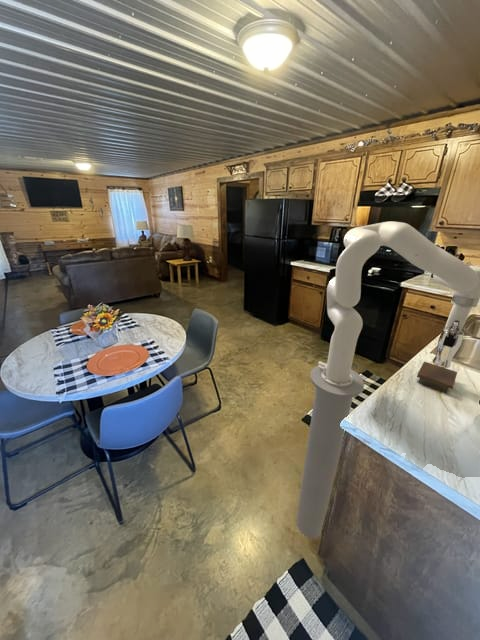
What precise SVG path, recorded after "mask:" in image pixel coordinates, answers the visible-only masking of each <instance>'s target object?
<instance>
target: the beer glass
mask: <svg viewBox="0 0 480 640" xmlns="http://www.w3.org/2000/svg"><path fill="white" fill-rule="evenodd" d="M451 329H452V328H451ZM456 330H457V329H456ZM448 331H449V329H446V328H445V327H444V328H443V329H442V331H441V333H440V335H439V338H438V340H437V346H436V347H437V348H436V353H435V356H434V357H433V359H432V364H434V365H437V366H439V367H442V368H446V369H449V368H451V366H452V360H453V358H454V356H456V355H455V354H456V353H457V352H458V350H459V349H460V347H461V345H462V342H463V338H464V335H465V333H464V331H462V330H461V331H460V332H458V333H457V335H456V340H455V343H454V346H453V347H448V346H444V345H443V342H444V340H445V337H446V336H447V334H448ZM450 332H451V331H450ZM455 333H456V332H455Z"/></svg>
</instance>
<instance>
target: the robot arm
mask: <svg viewBox="0 0 480 640" xmlns="http://www.w3.org/2000/svg"><path fill="white" fill-rule="evenodd" d="M343 245H344V247H345V249H344V250H342V252H341V253H340V255H339V256H338V258H337V261H336V264H335V265H336V266H335V276H333V277H332V278H331V279H330V281H329V282H328V284H327V287H326V311H327V316H328V318H329V320H330V321H331V322H332V324H333V326H334V330H333V332H332V335H331V338H330V343H329V347H328V348H329V349H328V356H327V362H323V361H321V360H319V361H318V362H317V366H318V365H319V366H318V368H319V369H322V370H323V371H322V374H321V376H322V379H323V380H324V381H325V382H326V383H328V384H330V385H332V386H336V387H347V386H350V385H351V384H352V382H353V378H352V376H351V375H350V372H351V370H352V366H353V363H354V357H355V352H356V347H357V343H358V339H359V336H360V334H361V331H362V329H363V326H364V325H363V324H364V321H363V318H362V316H361V315H360V313H359V312H358V311H357V310H356V309H355V308H354V307H355V306H356V305H357V304H358V303H359V302H360V300H361V293H362V287H361V286H362V271H363V267H364V265H365V263H366V262H367V261H368V260H369V259H370V258H371V257H372V256H373V255H375V254H376V253H377V252H378V251H379V249H380V247H387V248H390V249H392V250H393V251H394V252H395V253H397V254H398V255H400V256H401V257H402V258H404V259H405V260H406V261H407V262H409V263H410V264H412V265H413V266H414V267H416V268H418V269H420V270H422V271H425V272H427V273H430V274H432V277H433V280H434V281H435V282H436V283H437V284H439V285H440V286H442V287H443V286H444V287H446V288H448V289H450V290H451V289H452V290H454V292H453V295H452V297H451V300H450V303H451V304H452V307H451V309H450V312H449V314H448V318H447V320H446V323H445V326H444V328H446V329H449V331H448V334H447V336H446V337H445V340H444V342H443V345H444V346H448V347H453V346H454V343H455V340H456V335H457V333H458V332H460V331H462V330H463V328H464V326H465V324H466V322H467V319H468V317H469V315H470V312H471V310H472V308H477V306H478V304H479V301H480V265H468V264H467V263H466V262H464V261H463V260H461V259H459V258H458V257H456V256H454V255H453V254H451V253H449V252H448V251H446V250H445V249H443V248H442V247H440V246H438V245H437V244H435V243H434V242H433V241H431V240H430V239H428V238H427V237H426V236H425V235H424V234H422V233H421V232H420V231H419V230H417V229H416V228H415V227H413V226H412V225H410V224H409V223H406V222H403V221H402V222H401V221H392V220H391V221H382V222H378V223H373V224H367V225H362V226H356V227H353V228H351V229H349V230H348V231H347V232H346V233H345V234H344V238H343ZM451 328H452V329H451ZM456 329H457V330H456ZM450 331H451V332H450ZM455 332H456V333H455Z"/></svg>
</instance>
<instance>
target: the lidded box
mask: <svg viewBox="0 0 480 640" xmlns="http://www.w3.org/2000/svg"><path fill="white" fill-rule="evenodd" d="M457 374H458V372H457V371H456V370H453V369H449V368H442V367H439V366H437V365H435V364H434V363H430V362H427V361H423V363H422V365H421V366H420V369H419V370H418V373H417V375H416V377H417V378H418V381H417V383H418V384H421V385H424V386H426V387H428V388H431V389H434V390H437V391H440V392H442V393H444V394H448V392H449V389H450V390H453V388H454V385H455V382H456V379H457Z"/></svg>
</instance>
